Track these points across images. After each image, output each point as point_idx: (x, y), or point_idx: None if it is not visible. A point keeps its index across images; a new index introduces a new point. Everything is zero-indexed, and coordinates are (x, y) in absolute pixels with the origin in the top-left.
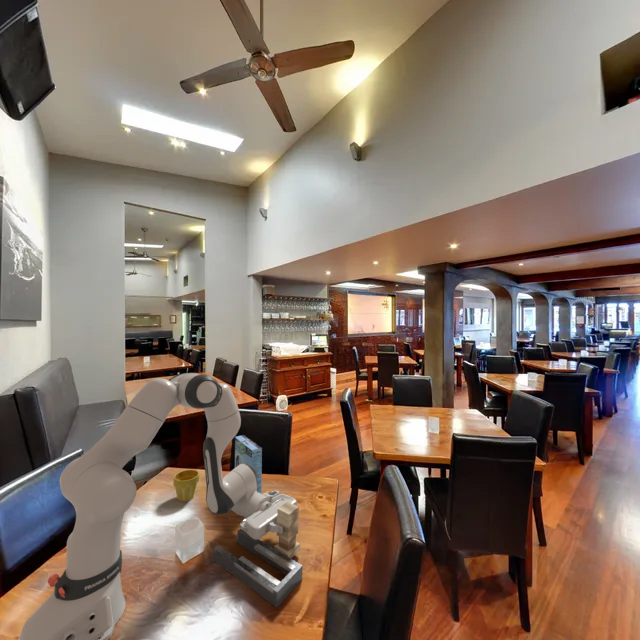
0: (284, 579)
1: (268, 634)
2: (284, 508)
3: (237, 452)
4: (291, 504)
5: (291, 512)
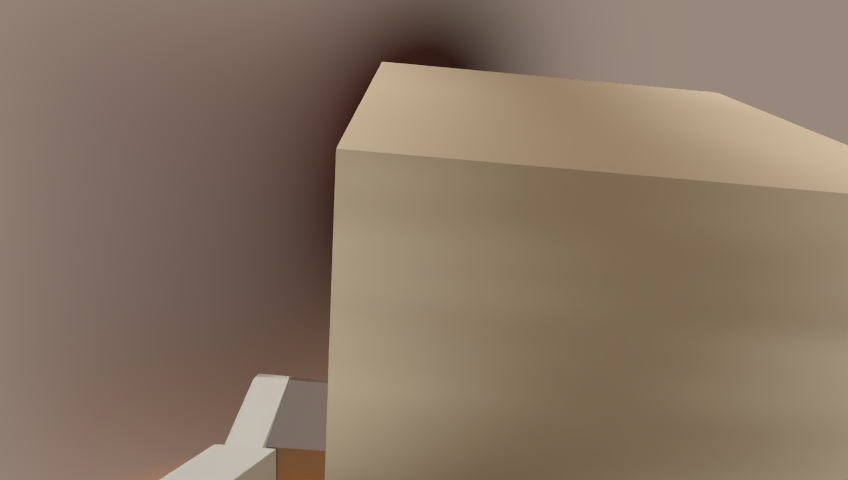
0: None
1: None
2: (711, 134)
3: None
4: (408, 100)
5: (636, 86)
